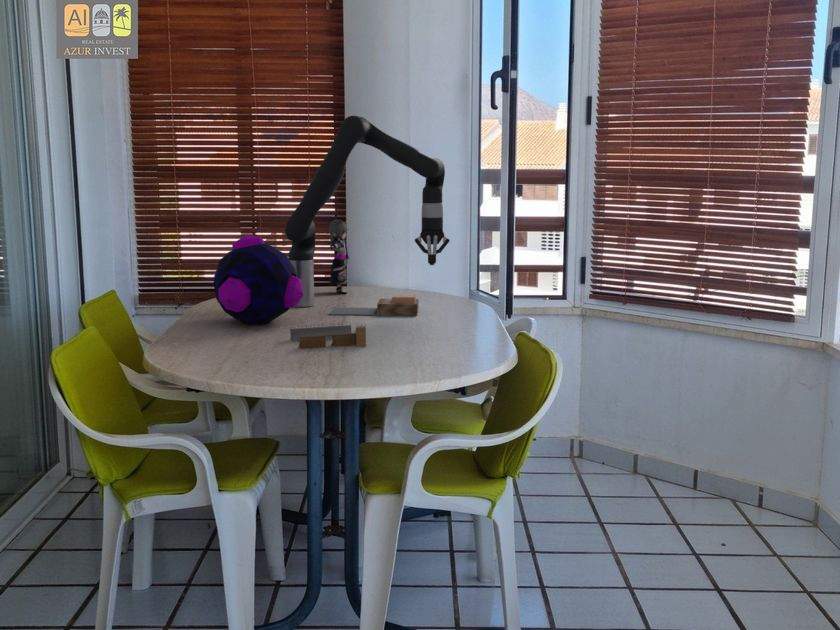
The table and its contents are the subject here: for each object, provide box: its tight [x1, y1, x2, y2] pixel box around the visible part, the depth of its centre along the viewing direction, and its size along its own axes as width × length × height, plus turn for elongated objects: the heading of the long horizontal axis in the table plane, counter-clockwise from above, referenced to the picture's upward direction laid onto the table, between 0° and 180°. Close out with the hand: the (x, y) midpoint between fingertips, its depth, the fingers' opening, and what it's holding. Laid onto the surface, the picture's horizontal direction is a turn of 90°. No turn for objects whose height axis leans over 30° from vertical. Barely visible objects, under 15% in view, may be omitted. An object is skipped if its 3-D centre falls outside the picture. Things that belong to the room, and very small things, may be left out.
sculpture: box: [213, 234, 304, 326], centre depth 300 cm, size 30×29×30 cm
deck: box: [376, 298, 420, 316], centre depth 324 cm, size 14×12×4 cm
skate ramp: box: [290, 322, 367, 350], centre depth 266 cm, size 29×35×8 cm
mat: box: [328, 307, 377, 317], centre depth 325 cm, size 16×14×1 cm
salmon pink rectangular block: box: [391, 294, 416, 303], centre depth 323 cm, size 8×6×2 cm
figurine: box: [328, 219, 350, 294], centre depth 363 cm, size 17×8×30 cm, turn 179°
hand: (432, 264), depth 321 cm, fingers closed
